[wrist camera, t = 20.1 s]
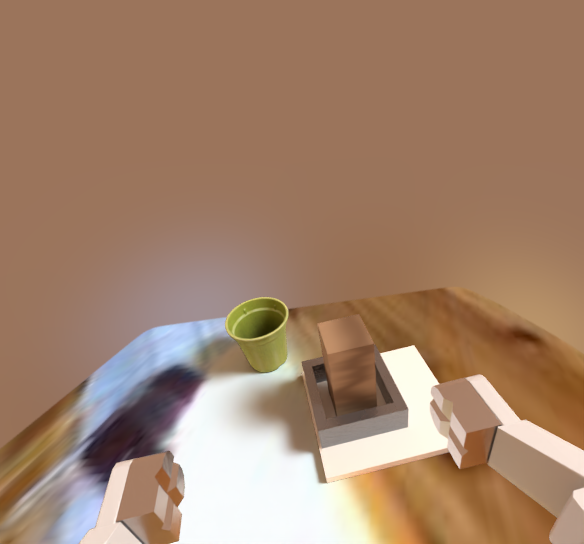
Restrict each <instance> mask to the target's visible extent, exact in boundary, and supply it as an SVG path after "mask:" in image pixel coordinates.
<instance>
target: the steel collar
mask: <svg viewBox="0 0 584 544" xmlns="http://www.w3.org/2000/svg"><path fill="white" fill-rule="evenodd" d="M374 353H375V373H376V383H377V385H378V387H379V389H380V391H381V394H382V396H383V398H384V400H385V402H386V405H382V406H377V407H373V408H369V409H365V410H361V411H357V412H353V413H349V414H345V415H341V416H337V417H333V418H329V419H326V417H325V413H324V409H323V406H322V402H321V398H320V394H319V391H318V387H317V383H320V382H324V381H327V379H326V373H325V367H324V360H323V357H320V358H316V359H312V360H307V361H303V362H302V366H303V371H304V375H305V380H306V384H307V388H308V392H309V397H310V401H311V405H312V409H313V413H314V418H315V422H316V426H317V430H318V434H319V439H320V443H321V447H322V449H323V448H327V447H331V446H335V445H339V444H343V443H347V442H351V441H355V440H359V439H363V438H367V437H371V436H375V435H379V434H383V433H387V432H391V431H395V430H399V429H403V428H407V427H408V411H409V409H408V407H407V405H406V403H405V401H404V399H403V397H402V395H401V393H400V391H399V390H398V388H397V386H396V384H395V382H394V380H393V378H392V376H391V374H390V372H389V370H388V368H387V366H386V364H385V363H384V361H383V359H382V357H381V355H380V353H379V351H378V349H377V347H376V345H374Z"/></svg>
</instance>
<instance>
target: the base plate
mask: <svg viewBox="0 0 584 544" xmlns="http://www.w3.org/2000/svg"><path fill="white" fill-rule="evenodd" d="M380 355H381V357H382V359H383V361H384V363H385V364H386V366H387V368H388V370H389V372H390V374H391V376H392V378H393V380H394V382H395V384H396V386H397V388H398V390H399V391H400V393H401V395H402V397H403V399H404V401H405V403H406V405H407V407H408V409H409V411H408V427H407V428H403V429H399V430H395V431H391V432H387V433H383V434H379V435H375V436H371V437H367V438H363V439H359V440H355V441H351V442H347V443H343V444H339V445H335V446H331V447H327V448H323V449H322V447H321V443H320V439H319V434H318V430H317V426H316V422H315V418H314V413H313V409H312V405H311V401H310V397H309V392H308V388H307V384H306V380H305V375H304V372H302V377H303V381H304V385H305V390H306V394H307V398H308V402H309V407H310V411H311V415H312V420H313V424H314V428H315V433H316V437H317V441H318V446H319V450H320V454H321V459H322V463H323V467H324V472H325V476H326V480H327V483H330V482H334V481H338V480H342V479H346V478H350V477H354V476H357V475H361V474H365V473H369V472H373V471H377V470H381V469H385V468H389V467H393V466H397V465H401V464H405V463H409V462H413V461H416V460H420V459H424V458H428V457H432V456H436V455H440V454H444V453H448V452H449V450H448V448H447V444H448V439H447V438H446V437H444V436H442V435H441V434H439V432H438V430H437V429H436V427H435V425H434V422H433V420H432V417H431V413H430V402H431V401H432V400H433V399H434V398H433V397H432V395H431V388H432V387H433V386H435V385H438V384H439V383H438V381H437V380H436V378H435V377H434V375H433V374H432V372H431V371H430V369H429V368H428V366H427V365H426V363H425V362H424V360H423V358H422V357H421V355H420V354H419V352H418V351H417V349H416V348H415V346H410V347H405V348H401V349H397V350H393V351H389V352H385V353H380ZM317 387H318V391H319V394H320V398H321V402H322V406H323V409H324V413H325V417H326V419H329V418H333V417H336V414H335V410H334V407H333V404H332V400H331V397H330V394H329V390H328V385H327V381H324V382H320V383H317ZM376 394H377V406H382V405H386V402H385V400H384V398H383V396H382V394H381V391H380V389H379V387H378V385H377V383H376Z"/></svg>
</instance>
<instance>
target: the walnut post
mask: <svg viewBox="0 0 584 544" xmlns="http://www.w3.org/2000/svg"><path fill="white" fill-rule="evenodd" d="M318 330H319V336H320V342H321V348H322V354H323V360H324V367H325V373H326V379H327V385H328V390H329V394H330V397H331V400H332V404H333V407H334V410H335V414H336V417H337V416H341V415H345V414H349V413H353V412H357V411H361V410H365V409H369V408H373V407H377V394H376V373H375V353H374V342H373V341H372V339H371V337H370V335H369V333H368V331H367V329H366V327H365V325H364V323H363V321H362V319H361V317H360V315H359V314H357V315H352V316H348V317H344V318H340V319H335V320H331V321H327V322H322V323H318Z"/></svg>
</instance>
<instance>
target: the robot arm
mask: <svg viewBox="0 0 584 544" xmlns="http://www.w3.org/2000/svg"><path fill="white" fill-rule="evenodd" d="M431 395H432V397H433V398H434V399H433V400H432V401H431V402H430V413H431V417H432V420H433V422H434V425H435V427H436V429H437V430H438V432H439V434H441V435H442V436H444V437H446V438H447V439H448V444H447V448H448V450H449V452H450V453H451V455H452V457H453V459H454V460H455V462H456V464H457V466H458V467H459V469H462V468H467V467H471V466H476V465H480V464H485V463H488V465H489V466H490V467H492V468H493V469H494V470H496V471H497V472H498V473H499V474H501V475H502V476H503V477H505V478H506V479H507V480H509V481H510V482H511V483H513V484H514V485H515V486H517V487H518V488H519V489H520V490H522V491H523V492H524V493H526V494H527V495H528V496H530V497H531V498H532V499H534V500H535V501H536V502H537V503H539V504H540V505H541V506H543V507H544V508H545V509H547V510H548V511H549V512H551V513H552V514H553V515H554V516H556V517H557V518H558V519H557V520H556V522H555V524H554V526H553V528H552V529H551V531H550V535H549V539H550V541H551V542H552V544H584V451H583V450H581V449H579V448H578V447H576V446H574V445H572V444H570V443H568V442H566V441H564V440H563V439H561V438H559V437H557V436H555V435H553V434H551V433H549V432H548V431H546V430H544V429H542V428H540V427H538V426H536V425H535V424H533V423H531V422H529V421H527V420H522V421H521V420H520V419H519V418H518V417H517V416H516V414H515V413H514V412H513V411H512V410H511V408H510V407H509V406H508V405H507V404H506V402H505V401H504V400H503V399H502V397H501V396H500V395H499V394H498V393H497V391H496V390H495V389H494V388H493V387H492V385H491V384H490V383H489V382H488V381H487V379H486V378H485V377H484V376H482V375H474V376H471V377H467V378H461V379H457V380H454V381H450V382H446V383H442V384H438V385H435V386H433V387H432V388H431ZM173 459H174V456H173V455H172V453H171V452H170V451H166V452H162V453H158V454H154V455H149V456H145V457H141V458H137V459H131V460H127V461H123V462H119V463H116V465H115V467H114V468H113V470H112V472H111V476H110V479H109V482H108V486H107V489H106V493H105V496H104V499H103V503H102V506H101V509H100V513H99V516H98V519H97V523H96V526H95V528H93V529H90V530H89V531H88V532H87V533H86V535H85V536H84V537H83V539H82V540H81V541H80V543H79V544H170V543H173V542H177V541H179V534H180V526H181V517H182V514H181V512H180V511H179V509H178V505H179V504H180V502H181V501H182V499H183V498H184V488H185V484H184V474H183V471H182V468H181V467H180V465H179V464H176V463H174V462H173Z"/></svg>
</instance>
